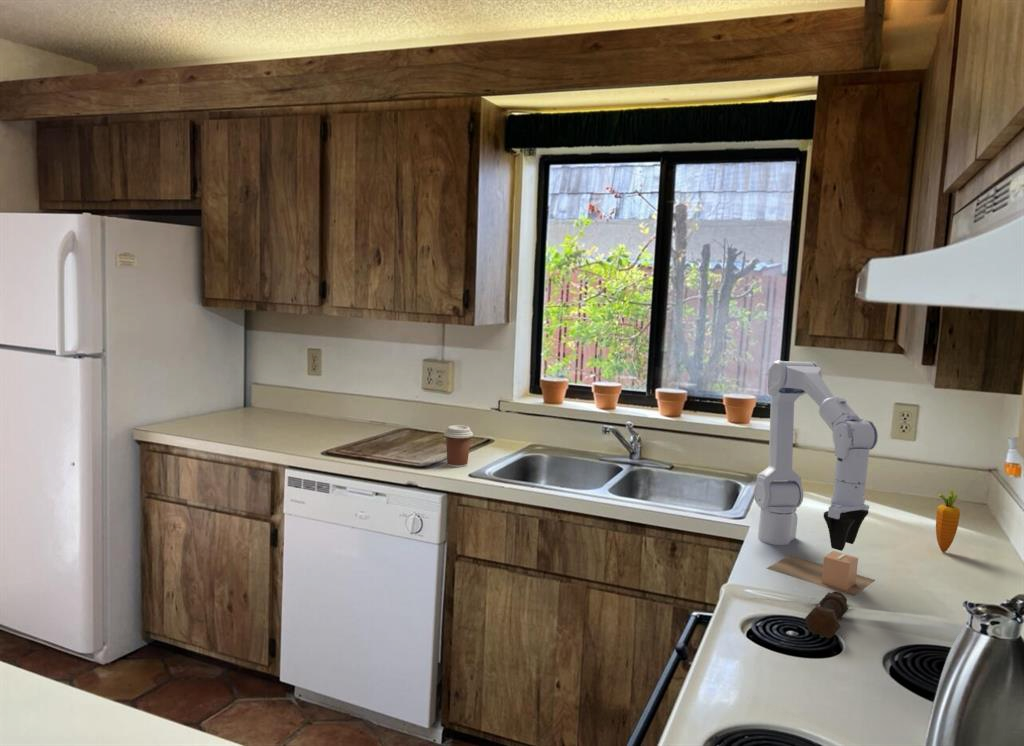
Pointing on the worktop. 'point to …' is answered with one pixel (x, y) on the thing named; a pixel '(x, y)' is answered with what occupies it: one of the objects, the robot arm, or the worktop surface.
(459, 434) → the coffee cup
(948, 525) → the carrot
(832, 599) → the bolt
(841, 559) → the salmon orange block
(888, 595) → the worktop surface
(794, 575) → the board
